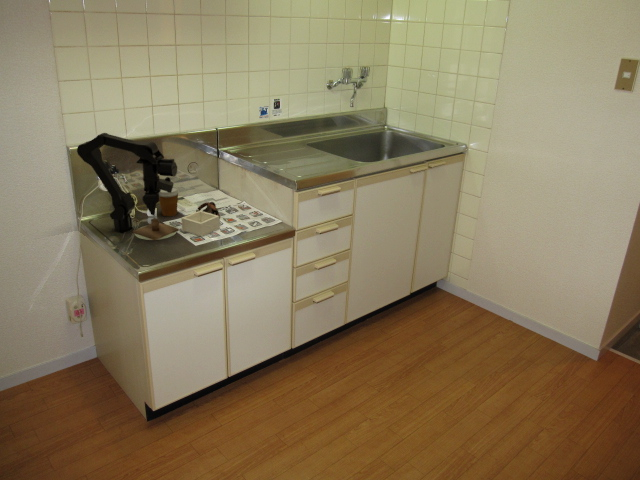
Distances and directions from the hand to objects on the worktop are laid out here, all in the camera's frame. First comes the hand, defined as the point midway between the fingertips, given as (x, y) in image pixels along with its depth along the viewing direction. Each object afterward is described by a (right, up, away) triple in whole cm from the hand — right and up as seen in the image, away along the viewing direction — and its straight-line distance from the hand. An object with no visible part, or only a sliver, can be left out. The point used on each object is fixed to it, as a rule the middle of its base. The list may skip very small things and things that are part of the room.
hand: (153, 211), depth 223 cm
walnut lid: (0, -8, +4) cm, 9 cm away
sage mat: (0, -9, +4) cm, 10 cm away
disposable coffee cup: (0, -1, +23) cm, 23 cm away
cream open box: (+18, -8, +8) cm, 21 cm away
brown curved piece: (+18, -2, +22) cm, 28 cm away
